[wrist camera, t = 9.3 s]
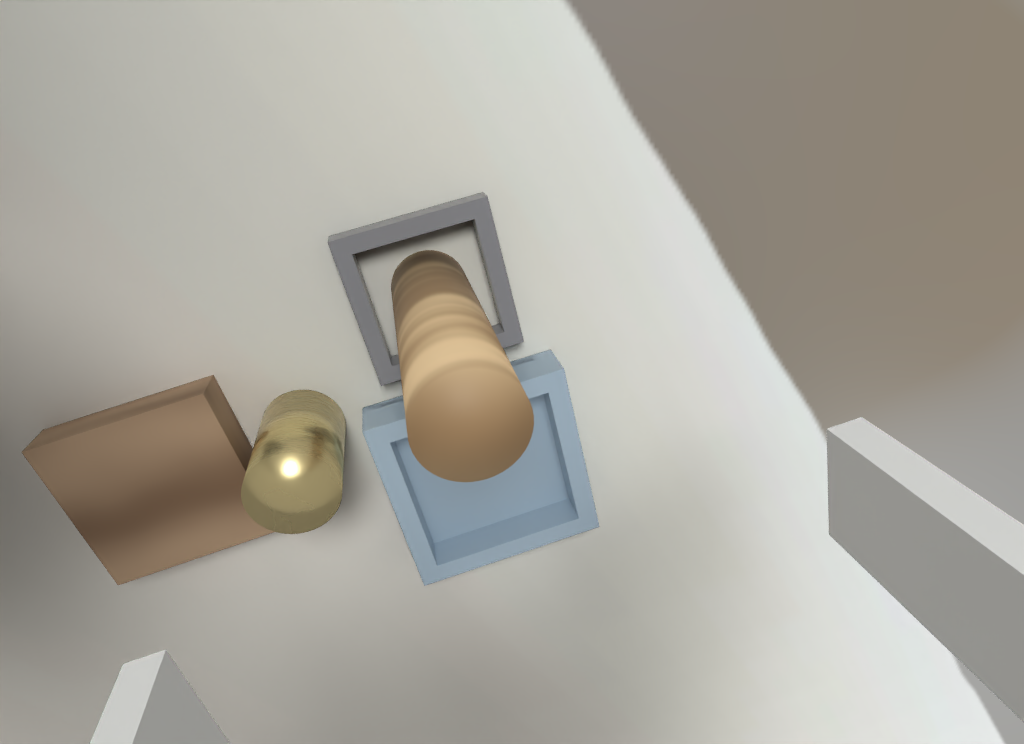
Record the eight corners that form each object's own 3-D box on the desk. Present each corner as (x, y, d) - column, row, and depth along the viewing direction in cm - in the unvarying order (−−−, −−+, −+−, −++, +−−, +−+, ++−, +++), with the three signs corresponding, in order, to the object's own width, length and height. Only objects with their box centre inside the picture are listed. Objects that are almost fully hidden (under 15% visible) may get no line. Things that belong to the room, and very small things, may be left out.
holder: (329, 236, 29) (327, 242, 28) (482, 192, 29) (487, 196, 28) (380, 375, 32) (381, 385, 31) (518, 333, 33) (523, 341, 31)
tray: (362, 407, 32) (362, 431, 30) (550, 349, 33) (563, 368, 31) (420, 555, 37) (424, 585, 35) (585, 500, 38) (599, 526, 35)
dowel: (381, 262, 30) (389, 392, 17) (455, 241, 30) (518, 352, 17) (404, 332, 31) (428, 497, 19) (475, 311, 32) (545, 460, 19)
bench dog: (248, 404, 31) (224, 471, 26) (329, 379, 31) (322, 440, 26) (280, 470, 33) (264, 545, 28) (356, 446, 33) (355, 516, 28)
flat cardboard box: (47, 425, 30) (21, 452, 28) (215, 371, 31) (202, 393, 28) (134, 552, 34) (118, 585, 31) (283, 501, 34) (277, 530, 32)
